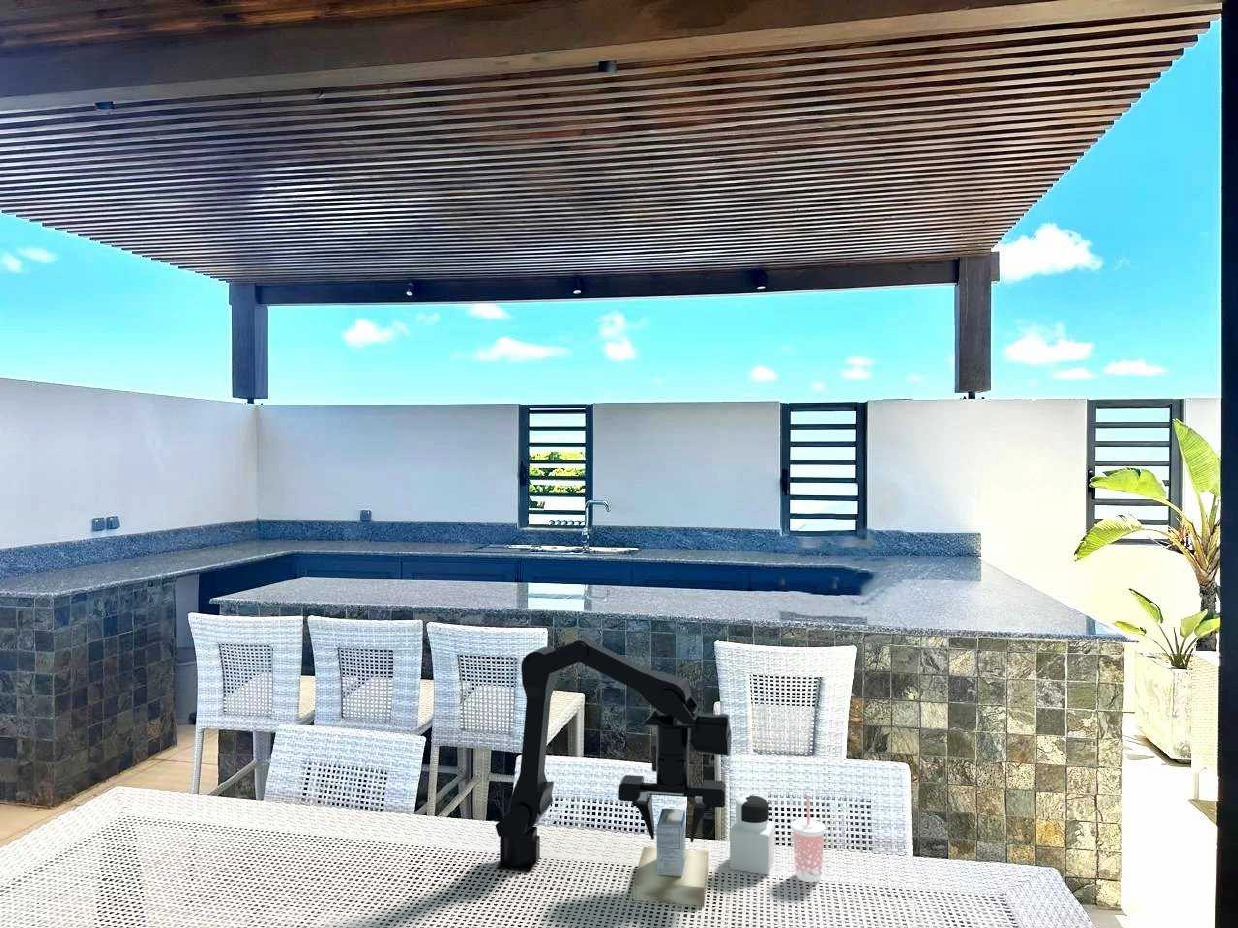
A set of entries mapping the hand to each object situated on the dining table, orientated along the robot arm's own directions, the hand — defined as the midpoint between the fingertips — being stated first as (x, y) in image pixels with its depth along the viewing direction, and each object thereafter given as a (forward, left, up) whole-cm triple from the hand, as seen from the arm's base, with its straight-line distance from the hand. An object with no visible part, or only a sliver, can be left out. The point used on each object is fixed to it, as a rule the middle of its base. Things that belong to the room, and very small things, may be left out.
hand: (672, 839), depth 141 cm
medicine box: (0, 0, -5) cm, 5 cm away
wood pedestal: (0, 0, -8) cm, 8 cm away
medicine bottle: (+14, +10, -8) cm, 19 cm away
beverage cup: (+24, +7, -8) cm, 26 cm away
